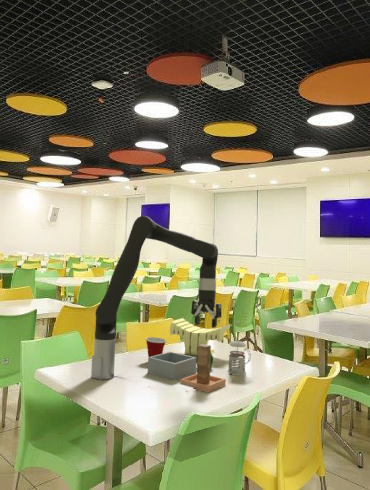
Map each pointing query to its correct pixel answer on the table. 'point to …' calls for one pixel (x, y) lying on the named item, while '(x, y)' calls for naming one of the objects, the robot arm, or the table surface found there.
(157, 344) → the plastic cup
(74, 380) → the table surface
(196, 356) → the bell pepper
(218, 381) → the terracotta tray
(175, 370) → the grey tub
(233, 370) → the french press
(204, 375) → the walnut stick
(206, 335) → the slatted curved stool
